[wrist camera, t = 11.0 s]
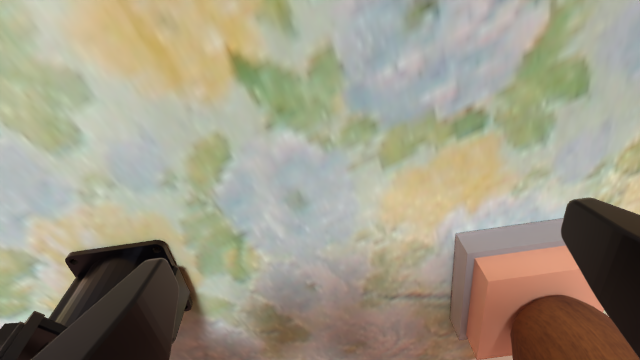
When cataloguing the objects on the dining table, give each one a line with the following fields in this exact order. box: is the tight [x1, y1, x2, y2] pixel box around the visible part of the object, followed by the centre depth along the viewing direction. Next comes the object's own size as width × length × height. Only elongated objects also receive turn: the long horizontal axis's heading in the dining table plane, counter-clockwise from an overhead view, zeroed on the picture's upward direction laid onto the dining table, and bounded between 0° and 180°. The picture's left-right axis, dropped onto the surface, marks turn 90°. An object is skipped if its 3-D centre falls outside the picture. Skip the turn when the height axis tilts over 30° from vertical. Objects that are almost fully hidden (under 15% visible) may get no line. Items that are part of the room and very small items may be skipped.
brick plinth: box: [450, 218, 604, 360], centre depth 26 cm, size 9×9×4 cm
